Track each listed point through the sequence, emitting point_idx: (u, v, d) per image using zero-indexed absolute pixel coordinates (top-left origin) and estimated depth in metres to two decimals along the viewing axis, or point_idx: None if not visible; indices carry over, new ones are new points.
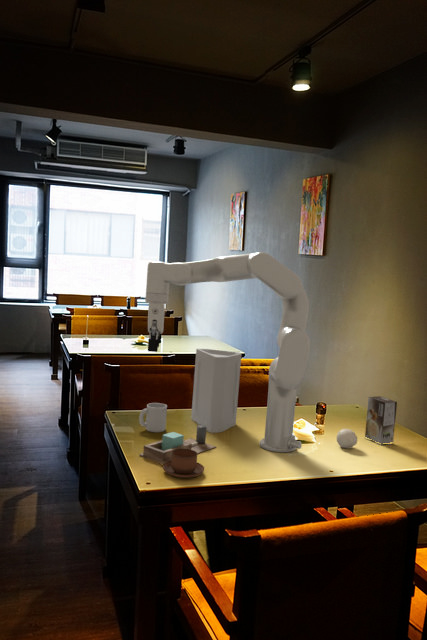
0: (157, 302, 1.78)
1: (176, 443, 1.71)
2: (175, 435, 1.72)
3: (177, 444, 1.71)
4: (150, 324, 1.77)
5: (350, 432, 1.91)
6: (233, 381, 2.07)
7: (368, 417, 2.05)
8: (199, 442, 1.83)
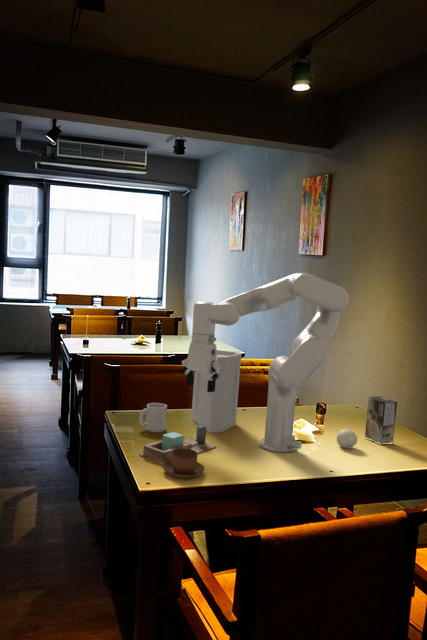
0: (212, 343, 1.79)
1: (176, 443, 1.71)
2: (175, 435, 1.72)
3: (177, 444, 1.71)
4: (210, 365, 1.78)
5: (350, 432, 1.91)
6: (233, 381, 2.07)
7: (368, 417, 2.05)
8: (199, 442, 1.83)
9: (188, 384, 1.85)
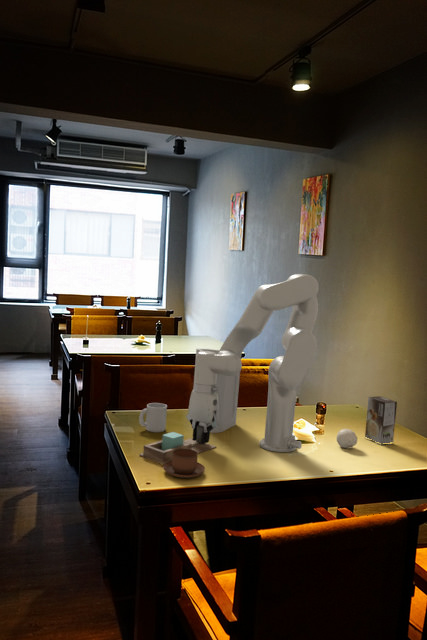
0: (214, 393, 1.81)
1: (176, 443, 1.71)
2: (175, 435, 1.72)
3: (177, 444, 1.71)
4: (212, 416, 1.79)
5: (350, 432, 1.91)
6: (233, 381, 2.07)
7: (368, 417, 2.05)
8: (199, 442, 1.83)
9: (195, 438, 1.84)
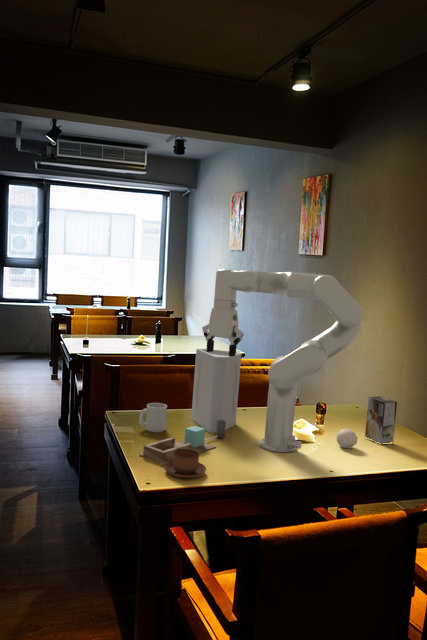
0: (233, 309, 1.86)
1: (199, 436, 1.79)
2: (197, 429, 1.81)
3: (200, 437, 1.80)
4: (232, 330, 1.84)
5: (350, 432, 1.91)
6: (233, 381, 2.07)
7: (368, 417, 2.05)
8: (219, 436, 1.91)
9: (209, 349, 1.91)
